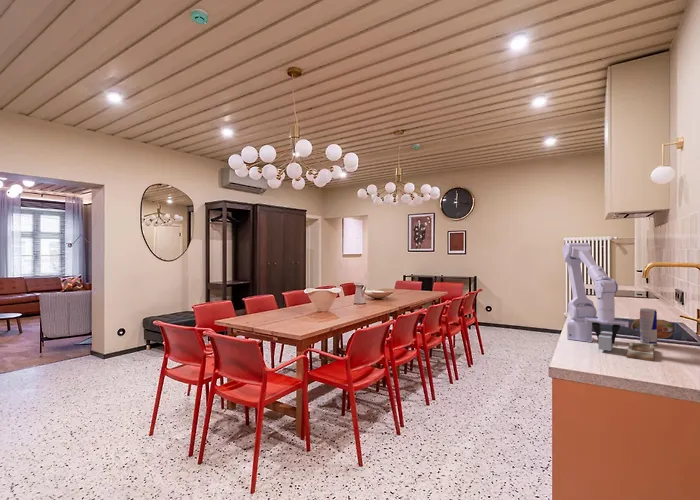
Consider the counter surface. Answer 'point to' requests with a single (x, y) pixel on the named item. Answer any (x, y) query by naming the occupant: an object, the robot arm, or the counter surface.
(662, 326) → the tin
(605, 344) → the grey box
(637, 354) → the framed wooden panel
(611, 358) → the counter surface
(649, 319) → the beverage can
